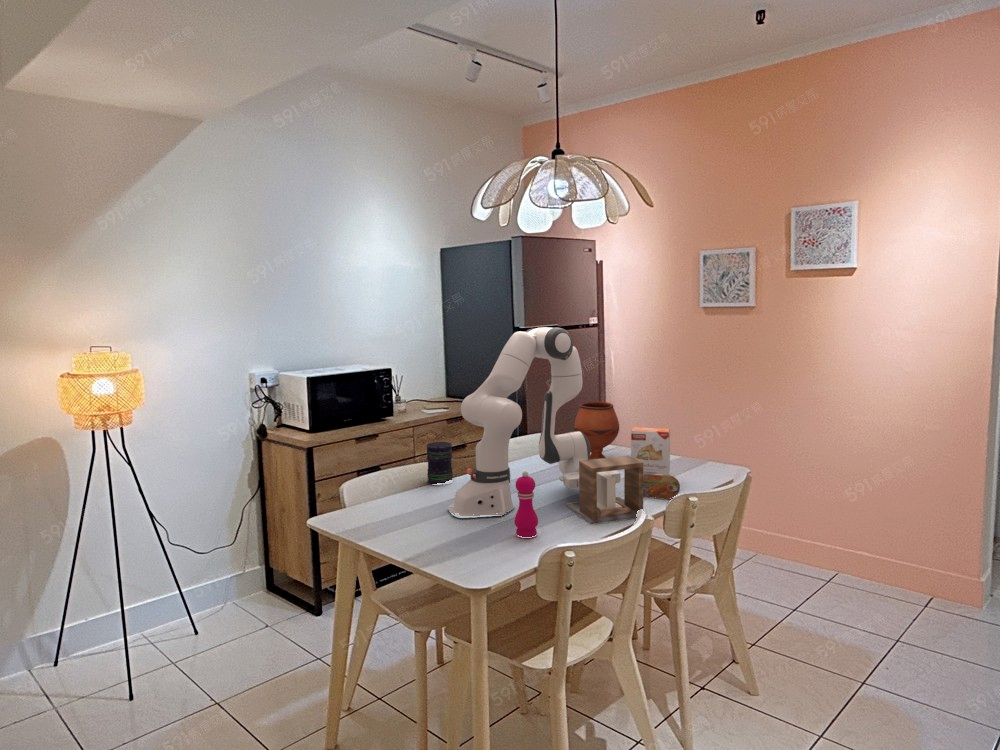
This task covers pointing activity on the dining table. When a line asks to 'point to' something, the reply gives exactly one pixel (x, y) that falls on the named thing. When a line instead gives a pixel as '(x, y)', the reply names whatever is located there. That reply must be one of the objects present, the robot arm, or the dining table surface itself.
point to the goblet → (597, 425)
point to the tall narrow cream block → (606, 492)
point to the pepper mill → (525, 507)
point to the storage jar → (439, 462)
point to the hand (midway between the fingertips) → (601, 484)
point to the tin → (660, 486)
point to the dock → (629, 503)
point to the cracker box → (651, 449)
